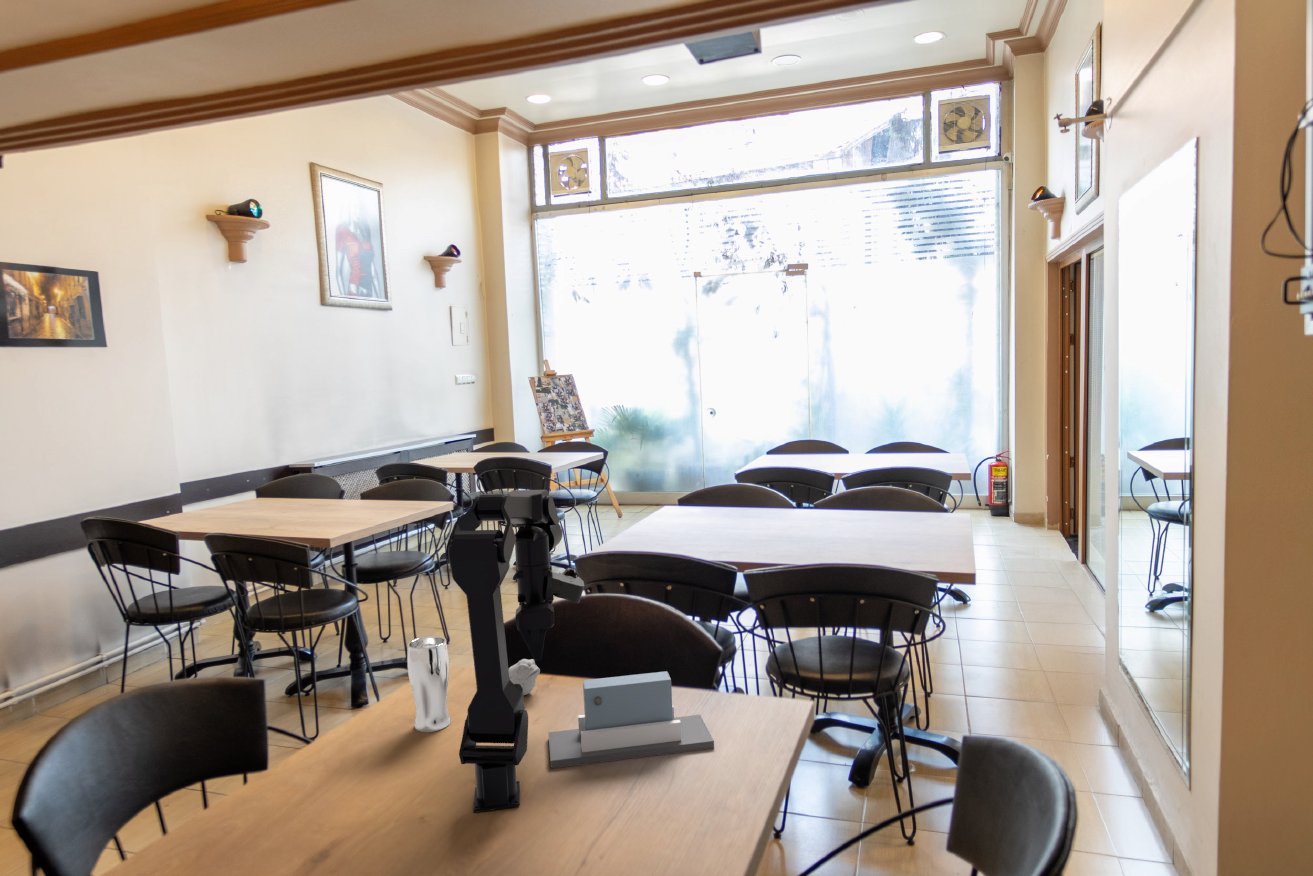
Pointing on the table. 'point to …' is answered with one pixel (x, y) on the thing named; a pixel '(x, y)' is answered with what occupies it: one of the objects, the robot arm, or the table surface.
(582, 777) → the table surface
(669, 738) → the hinge frame
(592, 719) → the door
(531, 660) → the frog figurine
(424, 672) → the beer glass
